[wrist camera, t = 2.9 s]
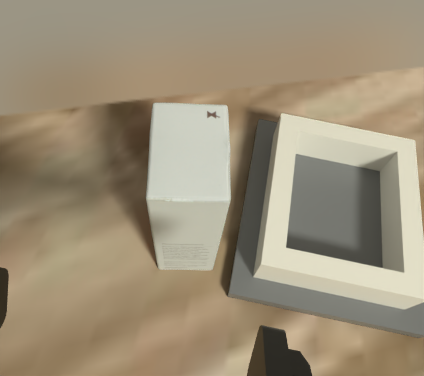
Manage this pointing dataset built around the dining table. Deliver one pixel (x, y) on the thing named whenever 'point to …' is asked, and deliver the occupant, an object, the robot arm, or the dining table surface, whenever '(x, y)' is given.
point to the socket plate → (332, 225)
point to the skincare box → (188, 183)
